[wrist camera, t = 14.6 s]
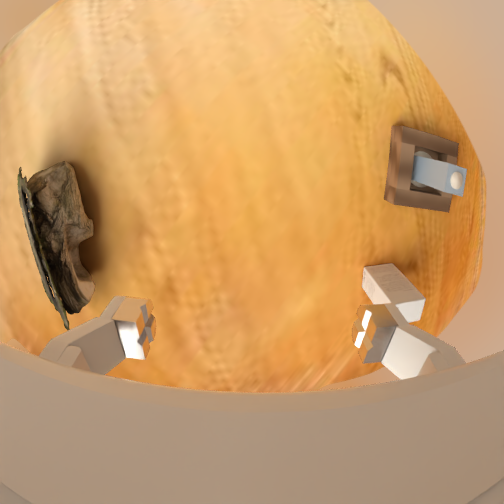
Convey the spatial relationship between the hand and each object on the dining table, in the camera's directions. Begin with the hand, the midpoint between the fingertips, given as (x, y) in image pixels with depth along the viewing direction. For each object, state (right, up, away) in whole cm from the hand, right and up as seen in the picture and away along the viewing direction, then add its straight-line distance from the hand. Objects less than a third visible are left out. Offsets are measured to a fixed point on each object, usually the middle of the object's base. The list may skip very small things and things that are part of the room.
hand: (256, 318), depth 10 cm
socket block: (+27, +16, +27) cm, 42 cm away
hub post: (+27, +16, +26) cm, 41 cm away
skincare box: (+22, -1, +35) cm, 42 cm away
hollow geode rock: (-33, +6, +31) cm, 46 cm away
